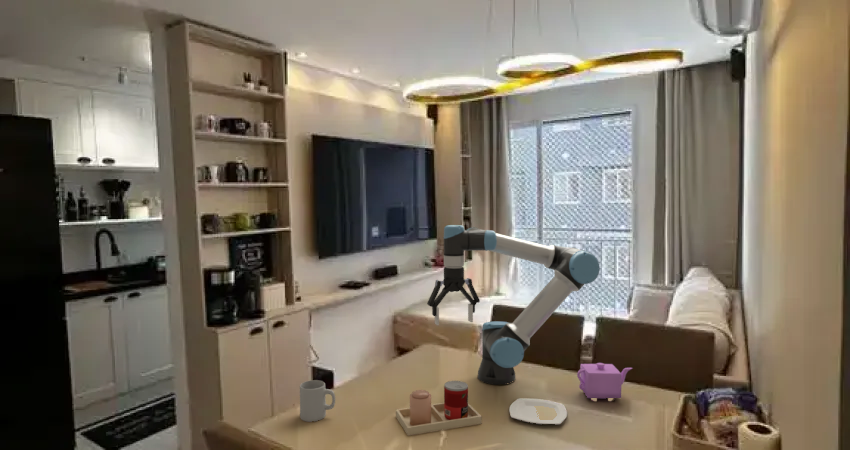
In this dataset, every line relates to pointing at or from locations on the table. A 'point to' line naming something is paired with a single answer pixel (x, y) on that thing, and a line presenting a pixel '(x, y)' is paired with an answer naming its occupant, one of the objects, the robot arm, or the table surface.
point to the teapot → (601, 380)
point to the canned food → (455, 400)
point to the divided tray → (437, 420)
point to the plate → (527, 411)
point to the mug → (314, 400)
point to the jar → (420, 407)
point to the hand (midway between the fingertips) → (453, 323)
